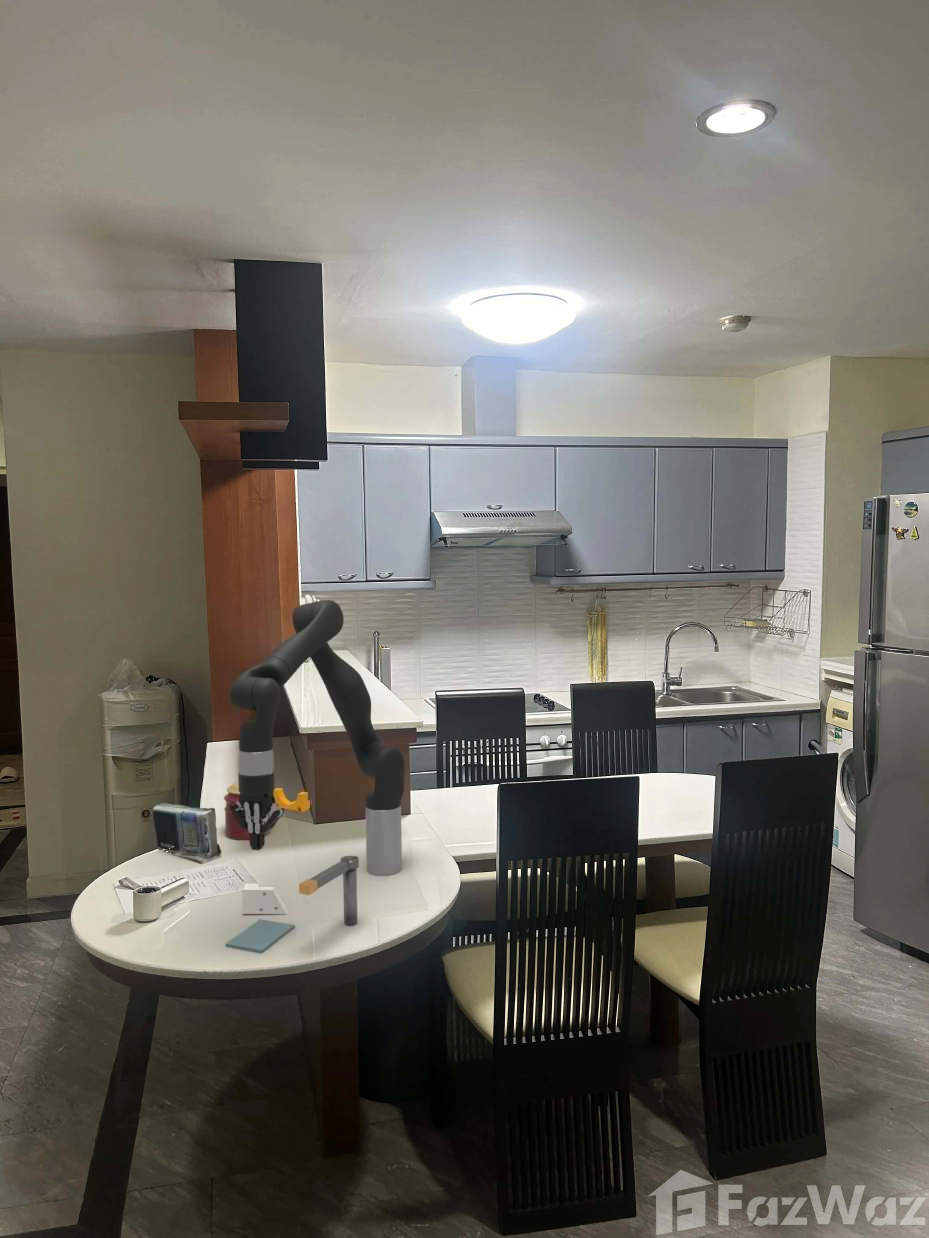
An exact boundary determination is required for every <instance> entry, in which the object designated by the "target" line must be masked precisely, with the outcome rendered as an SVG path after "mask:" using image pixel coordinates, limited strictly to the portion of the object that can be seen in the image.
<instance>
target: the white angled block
mask: <svg viewBox="0 0 929 1238" xmlns="http://www.w3.org/2000/svg"><path fill="white" fill-rule="evenodd" d="M288 913H289V910H288V909H287V906H286V905H285V903H284V902H283V900H282V898H281V896H280V895H279V893H278V891H277V890H276V888H275V887H274V886H261V885H260V883H245V885H244V887H243V888H242V915H288Z"/></svg>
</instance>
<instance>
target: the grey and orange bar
mask: <svg viewBox="0 0 929 1238" xmlns="http://www.w3.org/2000/svg"><path fill="white" fill-rule="evenodd" d="M359 862H360V861H359V856H357V855H345V856H342V857H340V861H338V862H337V863H335V864H333V865H331V866H330V867H328V868H326V869H324V870H322V871H320V872H319V873H318V874H316V875H314V876H313V877H311V878H309V879H308V878H307V879H305V880H304V881H302V882H300V883H299V884H298V890H299V891H298V893H299V895H306V896H310V895H312V894H314V893H315V892H316V891H318V890H319V889H320V888H321V887H323V886H325V885H326V884H328V883H330V882H331V881H334V879H336V878H338V877H340V876H341V875H342V876H343V873H345V872H347V871H348V870H353V869H356V870H357V869H358V868H359V867H360V865H359Z"/></svg>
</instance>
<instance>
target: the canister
mask: <svg viewBox="0 0 929 1238" xmlns="http://www.w3.org/2000/svg"><path fill="white" fill-rule="evenodd" d="M226 792H227V794H225V795H224V796H223V799H224V801H225V807H224V808H223V809H224V815H225V817H224V818H225V819H224V821H225V828H224V830H225V831H224V833H225V837H226V838H228V839H230V840H236V841H250V833H249V831H248V830H246V829H242V828H241V826H240V824H239V823H238V821H237V820H236V818H235V816H234V815H233V813H232V812H231V810H230V808H229V807H230V805H232V804H235V803H236V802H237V801H238V798H239V795H240V792H239V783H238V781H236V782H234V783H232V784H231V785H229V786H228V787H227V788H226ZM270 816H271V815H270V812H269V813H268V819H269V818H270ZM268 819H267V820H268ZM266 822H267V821H266ZM270 832H271V829H270V830H268V831H266V832H265V837H266V836H268V835H270Z"/></svg>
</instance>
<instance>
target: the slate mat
mask: <svg viewBox="0 0 929 1238" xmlns="http://www.w3.org/2000/svg"><path fill="white" fill-rule="evenodd" d="M295 928H296V926H295V924H292V923H286V922H280V921H273V920H269V919H268V920H267V919H263V918H262V919H261V918H260V919H258V920H257V921H255V922H254V923H252V924H251V925H250V926H248V927H247V928H244V930H242V931H241V932H240V933H237V935H236V936H234V937H233V938H231V939H229V940H228V941H227V942H225V945H224V946H225V947H226V948H229V949H234V950H241V951H247V952H250V953H251V952H252V953H257V954H261V955H263V954H264V953H265V952H266V951H267V950H268V949H270V948H272V947H273V946H274V945H275V944H276V943H277V942H279V941H280V940H281V939H282V938H284V937H285V936H287V935H288V934H289V933H291V932H292V931H293V930H294V929H295Z"/></svg>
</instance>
